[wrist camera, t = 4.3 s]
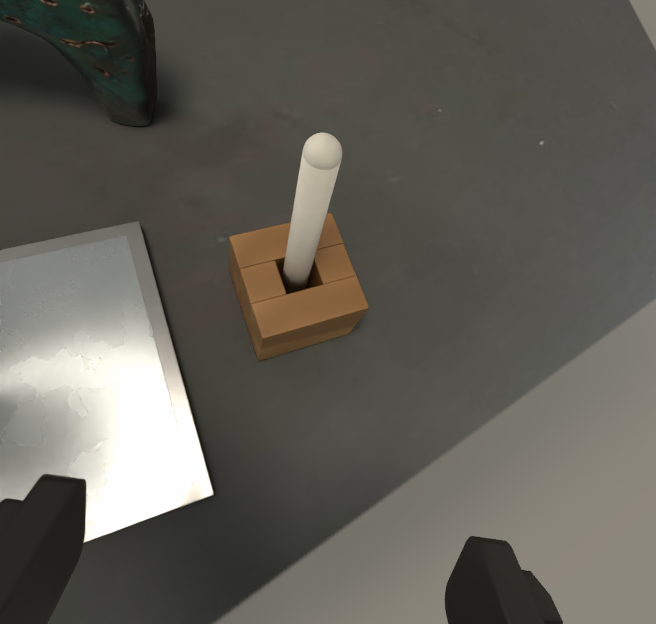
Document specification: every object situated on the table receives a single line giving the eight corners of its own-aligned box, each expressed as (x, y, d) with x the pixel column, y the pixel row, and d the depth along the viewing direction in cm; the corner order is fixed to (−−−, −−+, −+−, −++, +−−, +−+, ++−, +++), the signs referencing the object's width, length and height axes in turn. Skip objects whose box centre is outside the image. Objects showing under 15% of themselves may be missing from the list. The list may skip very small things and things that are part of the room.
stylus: (274, 295, 32) (298, 127, 18) (296, 290, 32) (337, 120, 18) (281, 317, 31) (312, 160, 18) (304, 310, 32) (352, 152, 18)
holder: (229, 272, 32) (228, 236, 27) (318, 250, 33) (331, 212, 29) (257, 361, 30) (262, 338, 25) (349, 333, 32) (369, 307, 27)
